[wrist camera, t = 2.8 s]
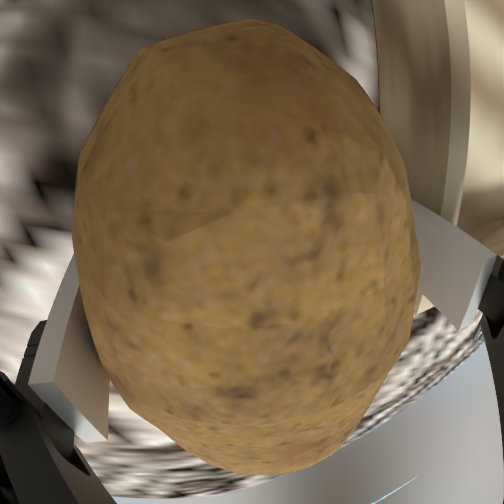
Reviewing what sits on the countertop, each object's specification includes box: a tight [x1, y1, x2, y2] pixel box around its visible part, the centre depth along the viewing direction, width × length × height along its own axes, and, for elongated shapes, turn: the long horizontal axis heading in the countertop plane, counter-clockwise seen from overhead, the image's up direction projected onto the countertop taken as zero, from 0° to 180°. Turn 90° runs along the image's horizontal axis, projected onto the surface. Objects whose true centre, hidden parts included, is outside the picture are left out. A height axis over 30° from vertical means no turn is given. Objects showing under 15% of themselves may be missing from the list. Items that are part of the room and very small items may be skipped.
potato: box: [72, 18, 421, 475], centre depth 9 cm, size 10×14×8 cm
